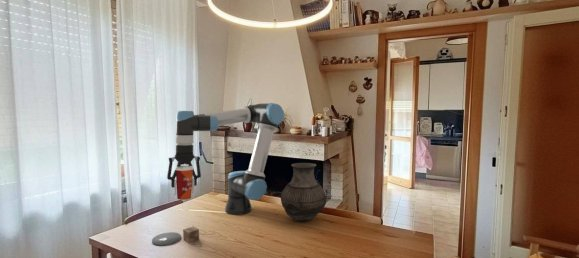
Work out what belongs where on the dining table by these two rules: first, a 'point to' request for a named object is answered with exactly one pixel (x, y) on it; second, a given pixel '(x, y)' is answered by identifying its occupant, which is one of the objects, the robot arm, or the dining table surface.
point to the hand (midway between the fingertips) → (184, 193)
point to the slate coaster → (166, 239)
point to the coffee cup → (184, 181)
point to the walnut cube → (190, 234)
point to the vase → (303, 193)
